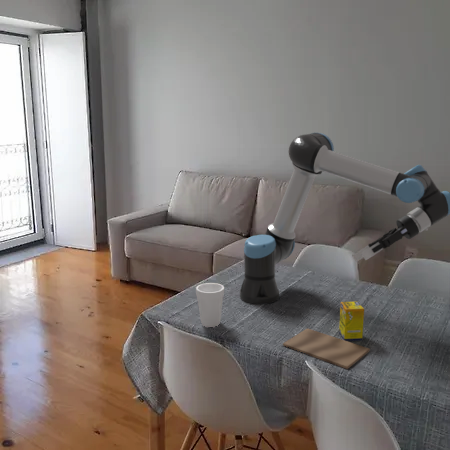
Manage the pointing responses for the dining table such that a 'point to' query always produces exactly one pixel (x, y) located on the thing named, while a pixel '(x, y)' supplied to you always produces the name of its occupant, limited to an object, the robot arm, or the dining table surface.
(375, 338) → the dining table surface
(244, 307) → the dining table surface
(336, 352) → the brown flat board
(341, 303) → the supplement box
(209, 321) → the foam cup
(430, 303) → the dining table surface
